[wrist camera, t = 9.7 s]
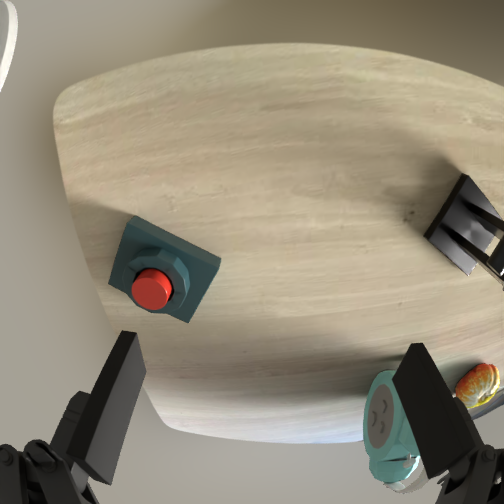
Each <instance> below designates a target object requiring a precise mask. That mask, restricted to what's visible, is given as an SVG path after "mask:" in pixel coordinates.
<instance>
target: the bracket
mask: <svg viewBox="0 0 504 504" xmlns="http://www.w3.org/2000/svg"><path fill="white" fill-rule="evenodd" d="M503 235H504V221H503V220H502V218H501V217H500V216H499V214H498V213H497V211H496V210H495V209H494V207H493V206H492V205H491V203H490V202H489V201H488V199H487V198H486V197H485V195H484V194H483V193H482V191H481V190H480V189H479V188H478V186H477V185H476V184H475V183H474V182H473V180H472V179H471V178H470V177H469V176H468V175H466V174H463V173H462V175H461V177H460V178H459V180H458V182H457V184H456V185H455V187H454V189H453V190H452V192H451V194H450V196H449V197H448V199H447V200H446V202H445V204H444V205H443V207H442V209H441V210H440V212H439V213H438V215H437V216H436V218H435V220H434V221H433V223H432V224H431V226H430V227H429V229H428V230H427V232H426V233H425V235H424V237H425V238H426V239H427V240H428V241H429V242H431V243H432V244H433V245H434V246H435V247H436V248H438V249H439V250H440V251H441V252H442V253H443V254H445V255H446V256H447V257H448V258H449V259H450V260H451V261H452V262H453V263H455V264H456V265H457V266H458V267H459V268H460V269H461V270H462V271H463V272H464V273H465V274H466V275H467V276H469V274H470V273H471V271H472V270H473V269H474V267H475V266H476V264H477V263H478V264H479V265H481V266H482V267H483V268H484V269H485V270H486V271H487V272H489V273H490V274H491V275H492V276H493V277H494V278H495V279H496V280H497V281H499V282H500V283H501V284H502V285H503V286H504V273H503V274H502V276H499V275H498V274H497V273H495V272H494V271H493V270H492V269H491V268H490V267H489V266H488V264H487V260H488V259H489V256H488V255H487V254H485V253H484V252H485V251H486V249H487V248H488V246H489V244H490V243H491V241H492V240H493V238H494V236H496V237H497V238H499V239H500V240H501V238H502V236H503ZM502 290H503V291H504V288H503V289H502Z"/></svg>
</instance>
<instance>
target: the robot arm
mask: <svg viewBox="0 0 504 504" xmlns="http://www.w3.org/2000/svg"><path fill="white" fill-rule="evenodd" d="M145 375H146V368H145V364H144V360H143V356H142V352H141V348H140V344H139V339H138V335H137V333H136V332H130V331H123V330H122V331H121V333H120V335H119V337H118V339H117V341H116V343H115V345H114V347H113V349H112V350H111V352H110V355H109V356H108V359H107V360H106V363H105V365H104V367H103V369H102V371H101V373H100V375H99V377H98V379H97V381H96V383H95V385H94V388H93V390H92V392H91V394H88V393H85V392H82V391H79V392H77V393H76V394H75V395H74V396H73V397H72V398H71V399H70V401H69V404H68V406H67V408H66V410H65V412H64V414H63V418H61V420H60V423H59V425H58V427H57V429H56V432H55V434H54V436H53V438H52V441H51V443H50V445H48V444H47V443H46V442H45V441H42V440H40V439H39V440H32V441H30V442H28V444H27V445H26V446H25V448H24V451H23V452H20V451H17V450H16V449H15V448H14V447H12V446H11V445H8V444H3V445H0V504H99V502H98V500H97V499H96V497H95V495H94V493H93V491H92V489H91V487H90V485H89V483H88V482H87V481H88V477H89V476H90V477H91V478H93V479H94V480H96V481H99V482H102V483H105V484H108V485H111V484H112V480H113V476H114V473H115V469H116V466H117V461H118V459H119V455H120V452H121V448H122V445H123V441H124V438H125V435H126V432H127V429H128V425H129V422H130V419H131V416H132V413H133V410H134V407H135V404H136V401H137V398H138V395H139V392H140V389H141V386H142V383H143V380H144V377H145ZM392 382H393V384H394V386H395V389H396V391H397V394H398V396H399V399H400V401H401V404H402V406H403V409H404V411H405V414H406V417H407V419H408V422H409V425H410V427H411V430H412V433H413V436H414V438H415V441H416V444H417V447H418V450H419V453H420V456H421V459H422V461H423V465H424V468H425V471H426V474H427V477H428V479H431V478H433V477H436V476H439V475H441V474H442V473H444V472H445V471H446V470H449V473H448V474H447V475H445V476H444V477H443V478H441V479H440V480H439V481H438V483H437V484H440V483H441V482H442V481H444V480H445V481H444V482H443V483H442V484H441V485H442V489H441V491H440V494H439V496H438V499H437V501H436V503H435V504H504V449H494V447H492V446H491V445H485V444H484V443H483V441H482V439H481V437H480V435H479V433H478V431H477V429H476V427H475V424H474V422H473V420H471V416H470V414H469V413H468V410H467V408H466V406H465V404H464V403H463V402H462V401H461V400H460V399H459V398H458V397H454V398H453V396H452V394H451V392H450V390H449V389H448V387H447V385H446V383H445V381H444V379H443V377H442V376H441V374H440V372H439V370H438V368H437V367H436V365H435V363H434V361H433V360H432V358H431V356H430V354H429V353H428V351H427V349H426V348H425V346H424V344H423V343H412V344H411V345H410V347H409V349H408V351H407V353H406V354H405V356H404V358H403V360H402V362H401V364H400V365H399V367H398V369H397V371H396V372H395V374H394V376H393V378H392ZM500 477H501V482H500V483H499V484H498V483H497V479H499V478H500Z"/></svg>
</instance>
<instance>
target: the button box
mask: <svg viewBox="0 0 504 504" xmlns="http://www.w3.org/2000/svg"><path fill="white" fill-rule="evenodd" d="M220 263H221V258H219V257H217V256H215V255H213V254H211V253H209V252H207V251H205V250H203V249H201V248H199V247H197V246H195V245H193V244H191V243H189V242H187V241H185V240H183V239H181V238H179V237H177V236H175V235H173V234H171V233H169V232H167V231H165V230H163V229H161V228H159V227H157V226H155V225H153V224H151V223H149V222H147V221H145V220H144V219H142V218H140V217H138V216H134V217H133V218H132V219H131V220H130V221H128V222H127V224H126V227H125V230H124V233H123V236H122V239H121V242H120V245H119V249H118V252H117V255H116V258H115V261H114V265H113V268H112V272H111V275H110V279H109V282H108V284H109V285H111V286H113V287H115V288H117V289H119V290H121V291H123V292H124V293H126V294H127V295H128V296H129V297H130V298H131V300H132V301H133V302H134V303H135V304H136V305H137V306H138V307H140V308H142V309H144V310H146V311H148V312H151V313H163V314H169V315H171V316H173V317H175V318H177V319H179V320H182V321H184V322H186V323H189V322H190V320H191V318H192V316H193V315H194V313H195V311H196V309H197V307H198V306H199V304H200V302H201V300H202V298H203V297H204V295H205V293H206V291H207V290H208V288H209V286H210V284H211V282H212V281H213V279H214V277H215V275H216V274H217V272H218V270H219V267H220ZM146 269H157V270H160V271H161V272H163V273H164V274H166V275H167V277H168V278H169V279H170V281H171V285H172V291H171V294H170V296H169V298H168V301H167V303H166V305H165V306H164V307H162V308H160V309H157V310H150V309H146V308H144V307H142V306H141V305H139V304H138V303H137V302H136V300H135V299H134V297H133V295H132V285H133V283H134V282H135V280H136V278H137V277H138V275H139V274H140V273H141V272H142V271H143V270H146Z"/></svg>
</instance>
